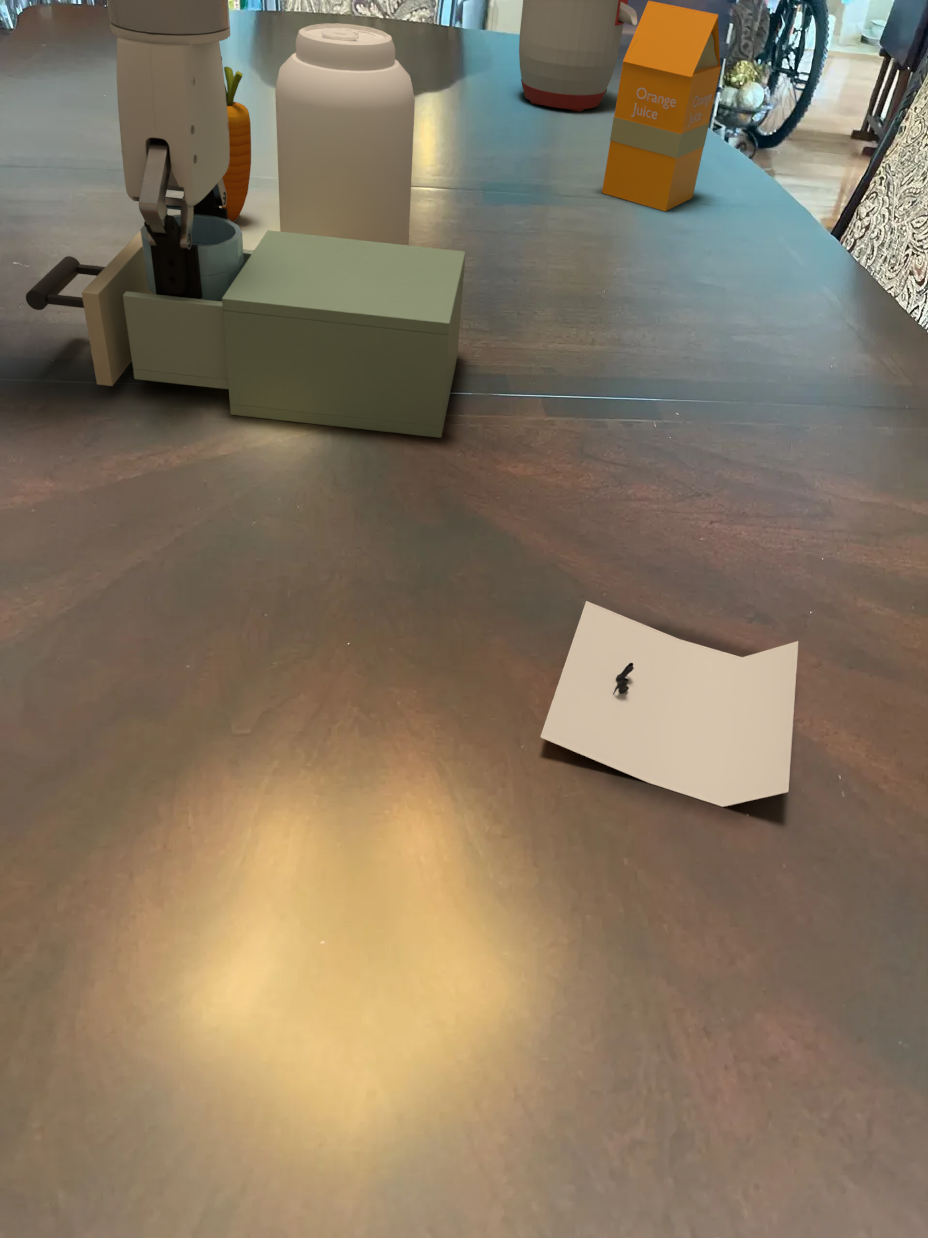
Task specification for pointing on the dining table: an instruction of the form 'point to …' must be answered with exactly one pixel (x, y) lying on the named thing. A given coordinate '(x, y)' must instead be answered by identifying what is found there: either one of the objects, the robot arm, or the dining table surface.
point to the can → (345, 136)
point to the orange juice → (663, 107)
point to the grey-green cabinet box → (344, 333)
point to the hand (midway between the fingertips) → (195, 276)
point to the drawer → (141, 322)
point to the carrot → (237, 149)
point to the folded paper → (676, 710)
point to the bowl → (208, 254)
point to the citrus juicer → (570, 50)
